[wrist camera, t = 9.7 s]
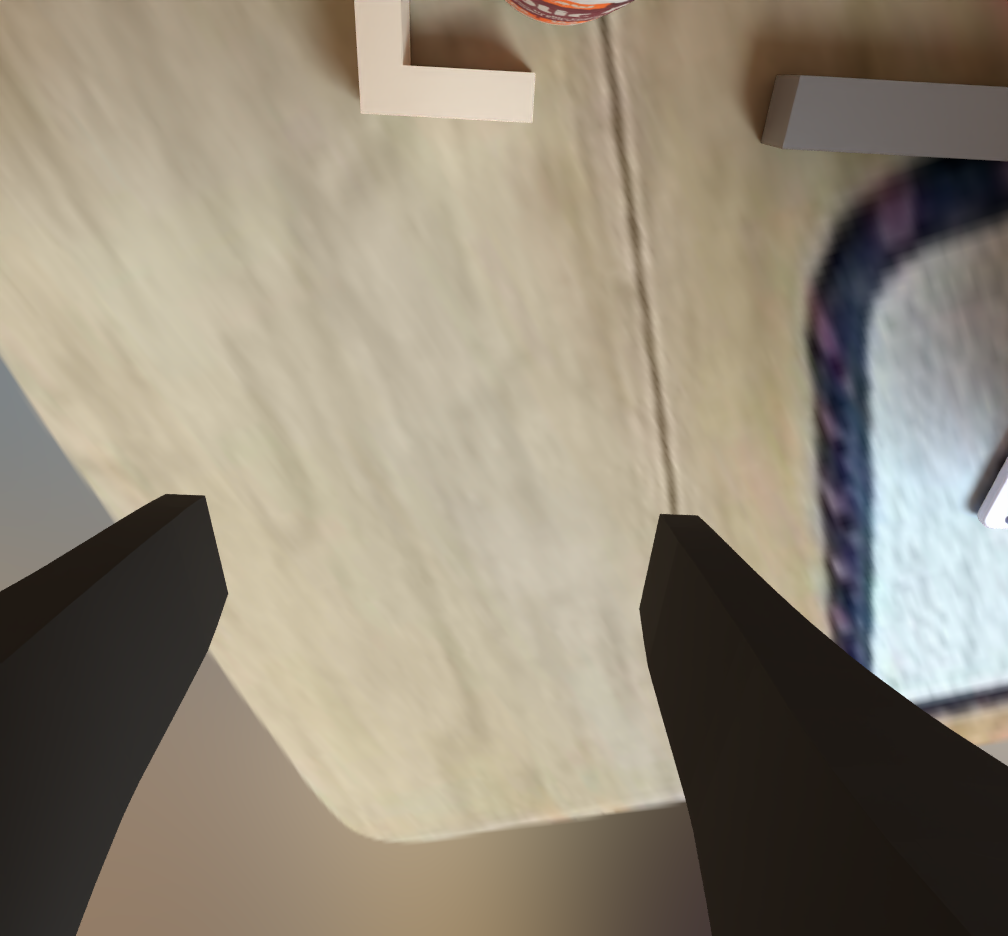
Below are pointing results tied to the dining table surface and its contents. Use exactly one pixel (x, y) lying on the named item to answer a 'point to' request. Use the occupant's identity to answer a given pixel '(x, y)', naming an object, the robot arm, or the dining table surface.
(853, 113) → the gray u-shaped bracket
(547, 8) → the pill bottle
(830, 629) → the dining table surface
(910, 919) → the robot arm
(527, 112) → the bracket
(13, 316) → the dining table surface
